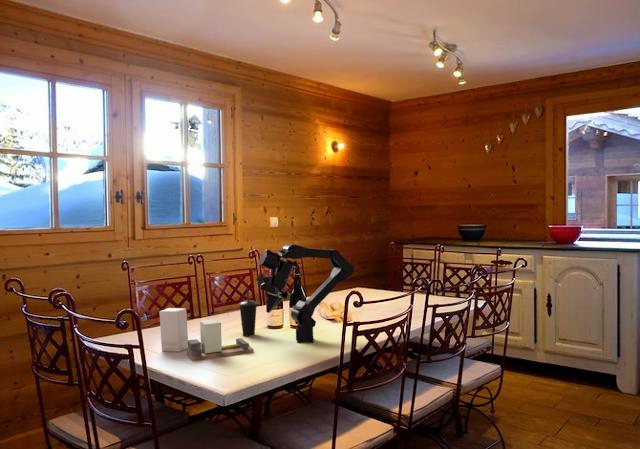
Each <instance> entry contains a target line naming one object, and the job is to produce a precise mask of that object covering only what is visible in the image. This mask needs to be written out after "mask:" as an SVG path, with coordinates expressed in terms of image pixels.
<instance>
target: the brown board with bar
mask: <svg viewBox="0 0 640 449" xmlns="http://www.w3.org/2000/svg"><path fill="white" fill-rule="evenodd" d="M249 353H254V348H253V347H251V345H250V343H249V342H247V341H246V340H244V339H243V338H242V337H240V338H236V339H235V344H228V345H222V351H219V352H212V353H204V350H203V349H202V348H201V341H200V340H198V339H197V338H195V339H188V348H187V351H186V354H187V356H188V358H190V359H191V361H192V362H195V361H203V360H208V359H217V358H222V357H229V356H235V355H243V354H249Z"/></svg>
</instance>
